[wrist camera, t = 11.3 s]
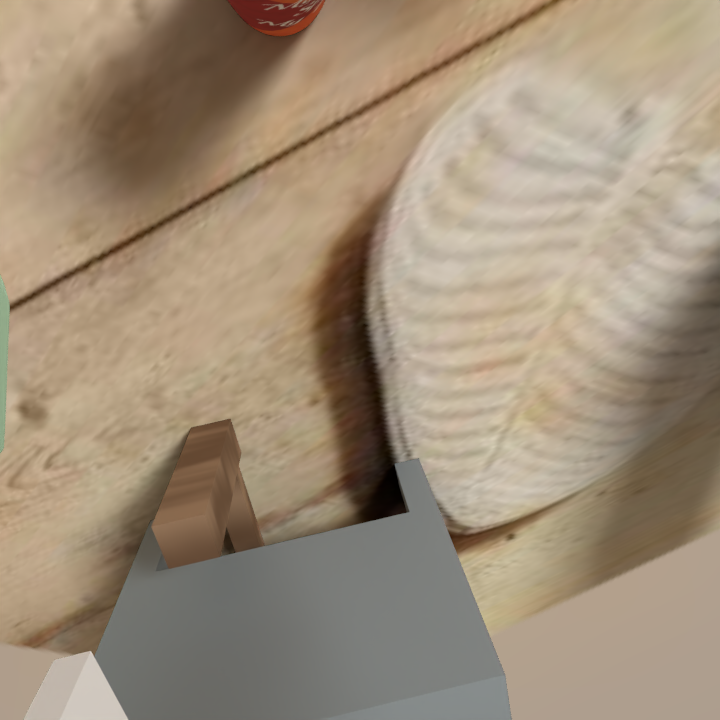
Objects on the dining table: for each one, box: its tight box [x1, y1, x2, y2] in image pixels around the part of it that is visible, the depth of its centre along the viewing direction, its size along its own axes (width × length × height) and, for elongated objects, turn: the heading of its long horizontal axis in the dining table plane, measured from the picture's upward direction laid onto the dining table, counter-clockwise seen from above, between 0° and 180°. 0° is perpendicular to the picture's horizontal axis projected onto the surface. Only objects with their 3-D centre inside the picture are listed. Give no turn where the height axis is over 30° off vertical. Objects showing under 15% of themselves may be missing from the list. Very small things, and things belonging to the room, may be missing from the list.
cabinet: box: [94, 458, 512, 720], centre depth 37 cm, size 22×11×20 cm, turn 101°
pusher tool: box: [151, 419, 265, 569], centre depth 39 cm, size 18×6×12 cm, turn 12°
